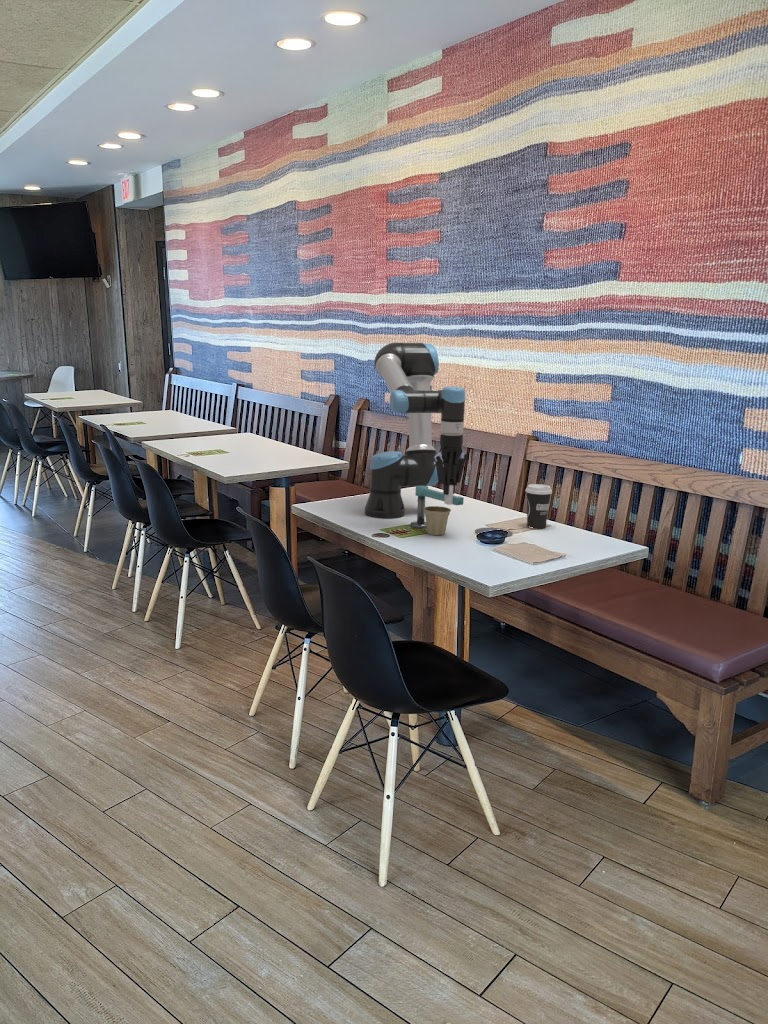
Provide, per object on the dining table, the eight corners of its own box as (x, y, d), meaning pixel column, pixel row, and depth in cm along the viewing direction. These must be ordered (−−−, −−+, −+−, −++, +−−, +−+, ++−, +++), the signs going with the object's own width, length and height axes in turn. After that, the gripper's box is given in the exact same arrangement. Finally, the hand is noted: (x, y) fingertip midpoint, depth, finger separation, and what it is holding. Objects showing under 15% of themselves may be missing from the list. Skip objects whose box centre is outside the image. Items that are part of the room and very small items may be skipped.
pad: (467, 530, 291) (467, 529, 291) (498, 527, 297) (498, 526, 296) (488, 539, 279) (488, 538, 279) (520, 535, 285) (520, 534, 285)
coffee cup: (528, 530, 293) (531, 488, 290) (519, 524, 302) (521, 483, 299) (553, 529, 295) (557, 488, 292) (543, 523, 304) (546, 483, 301)
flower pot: (447, 530, 290) (448, 506, 289) (451, 536, 281) (453, 512, 279) (421, 530, 290) (422, 505, 288) (424, 536, 281) (425, 511, 279)
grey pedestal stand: (407, 524, 296) (408, 494, 294) (424, 523, 300) (425, 493, 297) (416, 529, 290) (417, 498, 288) (433, 527, 294) (435, 497, 291)
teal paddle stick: (412, 494, 293) (413, 486, 292) (422, 493, 296) (422, 485, 295) (455, 506, 276) (455, 497, 275) (464, 504, 278) (465, 496, 278)
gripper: (442, 436, 267) (439, 507, 272) (474, 434, 274) (470, 504, 279) (429, 433, 273) (426, 503, 278) (460, 432, 280) (457, 500, 285)
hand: (448, 503), depth 278 cm, fingers closed
